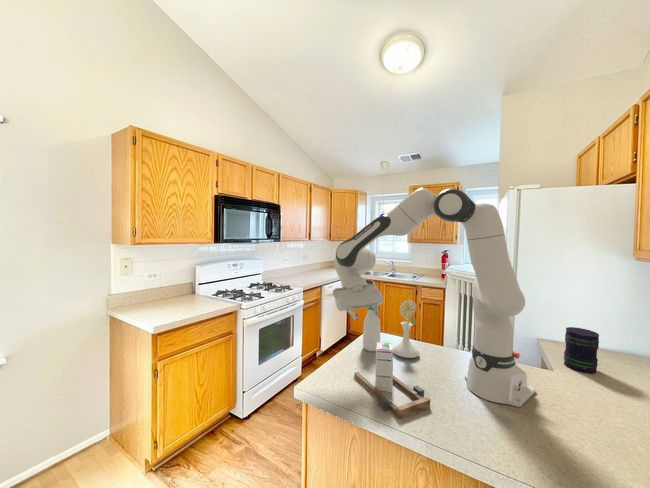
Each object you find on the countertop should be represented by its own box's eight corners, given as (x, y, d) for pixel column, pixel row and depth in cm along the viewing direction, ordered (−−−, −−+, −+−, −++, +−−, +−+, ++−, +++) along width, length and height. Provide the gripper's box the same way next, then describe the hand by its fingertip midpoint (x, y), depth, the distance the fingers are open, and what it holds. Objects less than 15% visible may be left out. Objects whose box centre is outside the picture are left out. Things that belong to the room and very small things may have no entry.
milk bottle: (380, 352, 120) (381, 308, 119) (362, 351, 121) (363, 307, 120) (379, 345, 127) (380, 303, 126) (363, 344, 129) (364, 302, 128)
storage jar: (561, 366, 110) (563, 330, 109) (565, 359, 116) (567, 325, 116) (596, 377, 102) (598, 338, 102) (598, 368, 109) (600, 332, 108)
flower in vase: (388, 349, 123) (389, 295, 122) (411, 348, 125) (413, 294, 124) (401, 363, 110) (403, 303, 109) (426, 361, 112) (428, 302, 111)
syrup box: (392, 392, 90) (393, 350, 90) (374, 390, 92) (375, 348, 91) (391, 383, 96) (393, 343, 95) (375, 381, 97) (376, 341, 97)
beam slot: (385, 368, 106) (385, 362, 106) (434, 405, 84) (435, 398, 84) (349, 377, 99) (349, 371, 99) (393, 420, 77) (393, 412, 77)
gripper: (334, 284, 105) (346, 316, 96) (377, 280, 113) (392, 310, 105) (328, 293, 109) (340, 324, 101) (370, 289, 118) (384, 317, 109)
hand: (366, 317), depth 103 cm, fingers open, 8 cm apart
